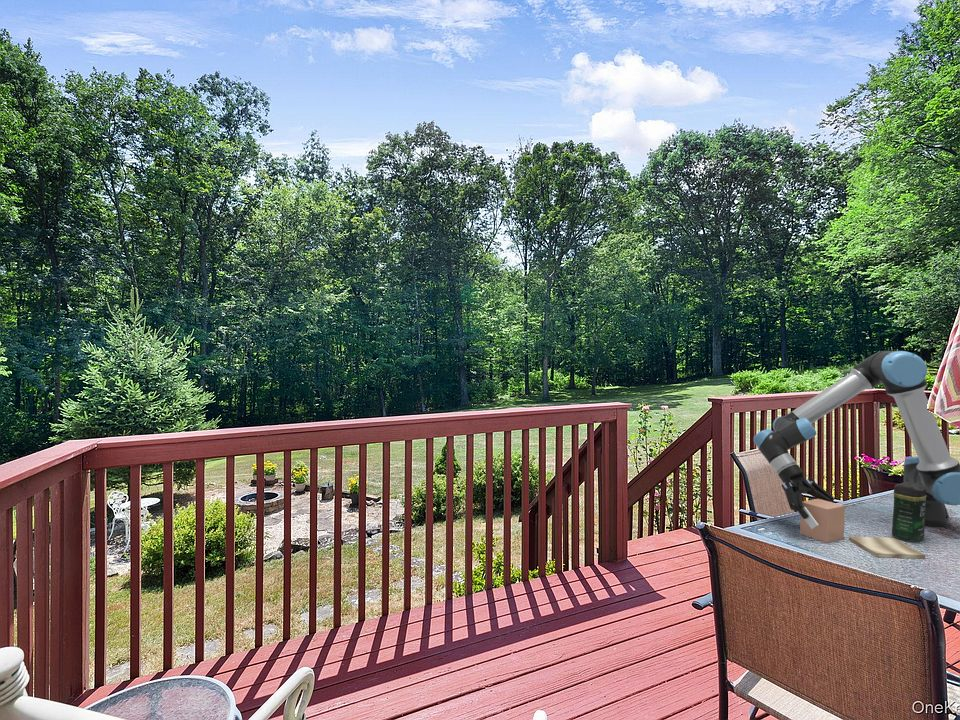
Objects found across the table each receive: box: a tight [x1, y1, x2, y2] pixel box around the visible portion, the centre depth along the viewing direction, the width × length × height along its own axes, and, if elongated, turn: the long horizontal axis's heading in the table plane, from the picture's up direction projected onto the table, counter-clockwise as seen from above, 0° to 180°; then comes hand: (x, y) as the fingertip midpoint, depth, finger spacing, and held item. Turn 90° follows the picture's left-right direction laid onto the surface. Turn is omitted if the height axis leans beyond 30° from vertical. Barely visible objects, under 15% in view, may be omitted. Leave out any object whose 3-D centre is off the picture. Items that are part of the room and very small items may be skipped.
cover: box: [799, 498, 846, 544], centre depth 183 cm, size 9×9×11 cm
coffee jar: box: [891, 481, 926, 543], centre depth 182 cm, size 10×8×19 cm
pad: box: [848, 536, 926, 560], centre depth 172 cm, size 14×14×1 cm
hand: (828, 524), depth 181 cm, fingers open, 13 cm apart
